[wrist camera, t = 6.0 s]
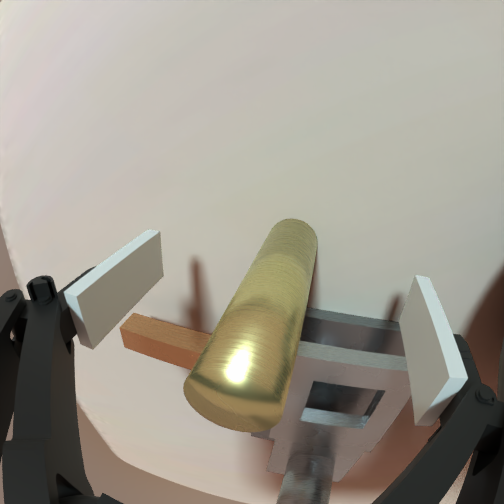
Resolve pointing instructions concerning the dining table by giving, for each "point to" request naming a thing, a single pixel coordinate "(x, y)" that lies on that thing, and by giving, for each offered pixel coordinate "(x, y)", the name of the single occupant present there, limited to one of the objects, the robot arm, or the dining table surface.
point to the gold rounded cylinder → (257, 336)
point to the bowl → (501, 376)
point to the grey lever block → (312, 393)
